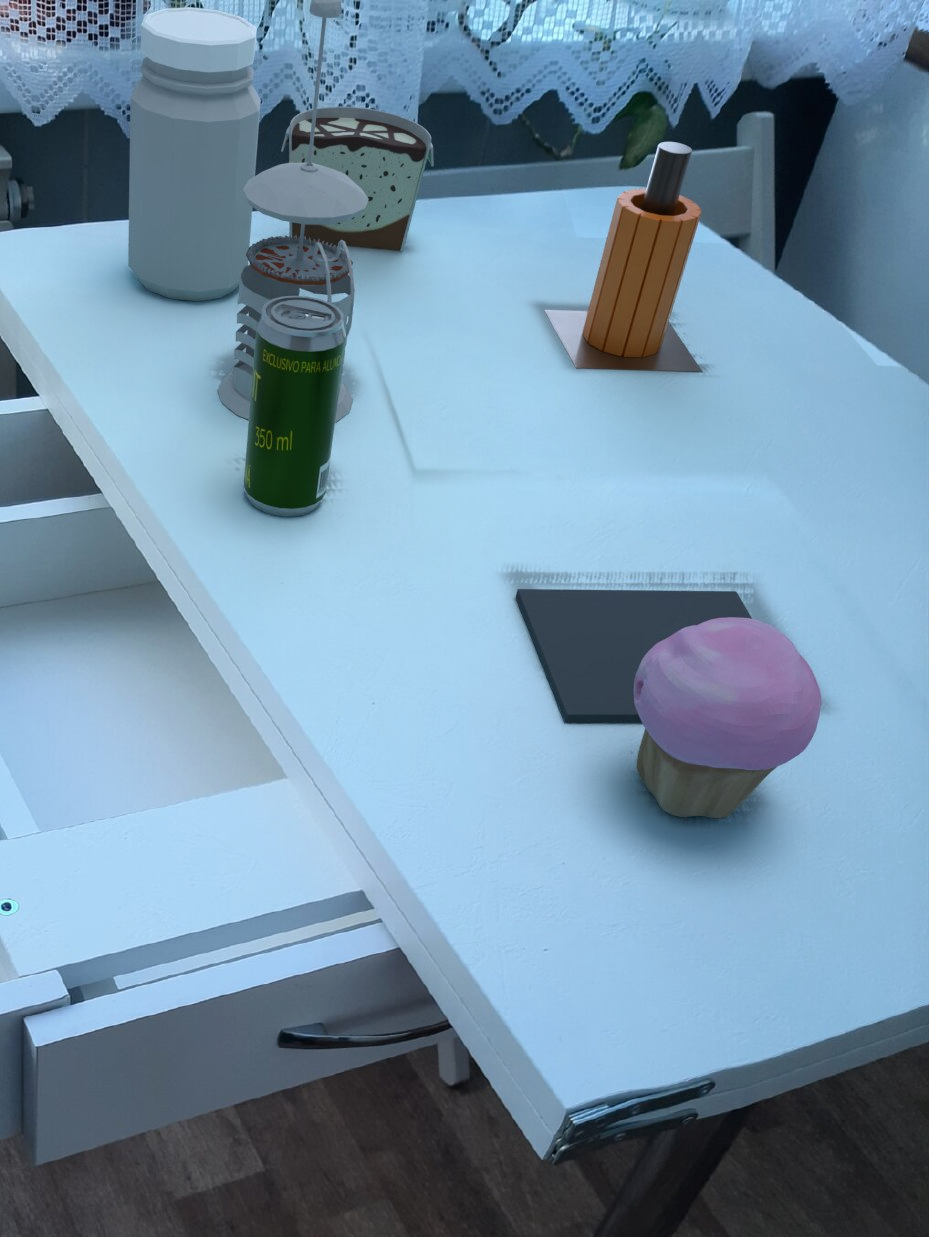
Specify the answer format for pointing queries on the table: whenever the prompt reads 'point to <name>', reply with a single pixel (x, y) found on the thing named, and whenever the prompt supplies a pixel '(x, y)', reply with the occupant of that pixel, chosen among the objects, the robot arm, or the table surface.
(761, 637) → the cupcake
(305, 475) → the beer can
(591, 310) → the orange hollow cylinder
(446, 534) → the table surface
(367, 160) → the food container
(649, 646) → the mat
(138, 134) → the jar
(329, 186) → the french press
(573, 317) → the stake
